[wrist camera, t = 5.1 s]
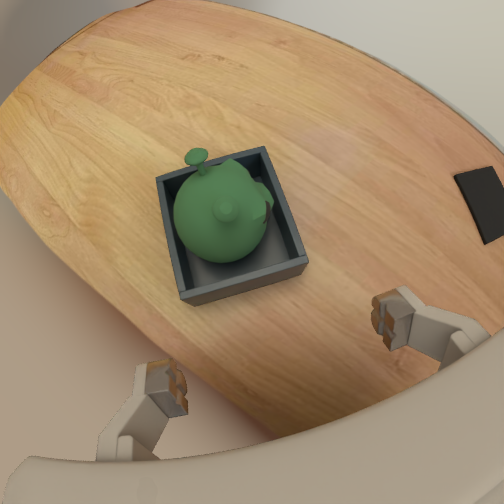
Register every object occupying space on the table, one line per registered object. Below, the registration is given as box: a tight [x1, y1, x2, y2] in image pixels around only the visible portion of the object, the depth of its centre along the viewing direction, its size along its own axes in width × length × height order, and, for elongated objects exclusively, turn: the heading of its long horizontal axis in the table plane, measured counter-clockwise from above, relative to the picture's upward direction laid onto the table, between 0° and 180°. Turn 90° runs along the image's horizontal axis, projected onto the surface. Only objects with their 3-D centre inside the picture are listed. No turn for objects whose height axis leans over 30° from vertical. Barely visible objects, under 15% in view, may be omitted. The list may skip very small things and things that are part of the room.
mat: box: [454, 166, 504, 245], centre depth 27 cm, size 9×9×1 cm
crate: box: [156, 146, 309, 306], centre depth 24 cm, size 11×10×4 cm
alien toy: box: [174, 148, 274, 263], centre depth 21 cm, size 7×8×10 cm
